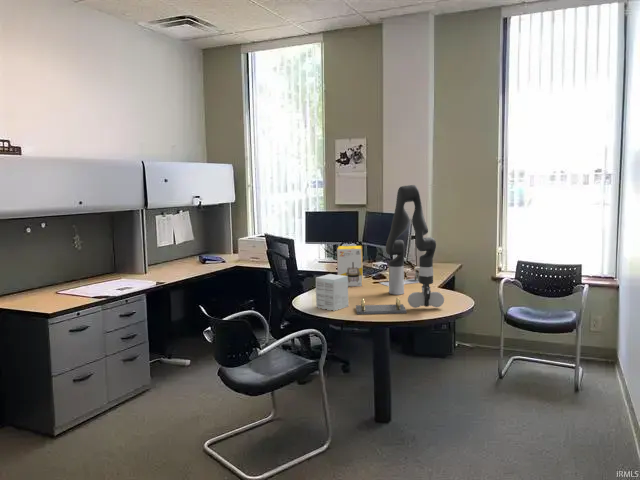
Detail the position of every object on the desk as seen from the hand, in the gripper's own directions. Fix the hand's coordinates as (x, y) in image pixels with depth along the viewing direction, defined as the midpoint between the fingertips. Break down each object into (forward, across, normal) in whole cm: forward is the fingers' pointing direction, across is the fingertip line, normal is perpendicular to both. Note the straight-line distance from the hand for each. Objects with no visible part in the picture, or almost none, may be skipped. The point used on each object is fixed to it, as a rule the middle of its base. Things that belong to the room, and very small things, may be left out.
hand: (426, 305), depth 290 cm
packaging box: (+3, -73, -38) cm, 82 cm away
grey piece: (+1, 0, 0) cm, 1 cm away
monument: (+3, -74, -1) cm, 74 cm away
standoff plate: (+2, +2, -25) cm, 25 cm away
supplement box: (+2, -8, -51) cm, 52 cm away
